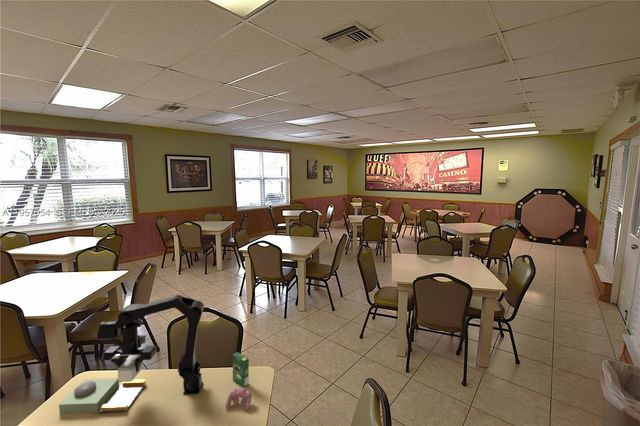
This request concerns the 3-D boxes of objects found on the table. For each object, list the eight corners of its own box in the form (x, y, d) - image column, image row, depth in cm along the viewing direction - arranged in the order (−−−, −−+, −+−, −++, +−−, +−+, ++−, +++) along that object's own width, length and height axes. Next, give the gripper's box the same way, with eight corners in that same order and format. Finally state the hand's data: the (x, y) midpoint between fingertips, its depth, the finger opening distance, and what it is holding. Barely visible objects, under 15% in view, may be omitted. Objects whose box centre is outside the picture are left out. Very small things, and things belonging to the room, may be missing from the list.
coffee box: (249, 384, 131) (249, 357, 129) (244, 388, 128) (244, 360, 126) (237, 377, 135) (236, 351, 133) (232, 380, 133) (231, 354, 131)
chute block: (143, 367, 124) (142, 354, 124) (131, 382, 116) (130, 368, 115) (130, 367, 124) (130, 354, 123) (118, 382, 115) (117, 368, 114)
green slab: (119, 386, 128) (118, 375, 127) (97, 412, 114) (96, 399, 113) (85, 387, 126) (84, 376, 126) (59, 413, 113) (58, 401, 112)
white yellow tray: (145, 384, 129) (145, 379, 129) (125, 412, 114) (125, 406, 114) (122, 385, 128) (121, 380, 128) (99, 413, 113) (98, 407, 113)
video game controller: (251, 408, 119) (253, 388, 122) (248, 411, 115) (250, 391, 117) (228, 406, 120) (231, 386, 122) (224, 409, 116) (227, 389, 118)
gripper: (162, 326, 126) (163, 359, 128) (117, 326, 125) (119, 359, 127) (149, 340, 115) (150, 376, 117) (100, 341, 114) (102, 377, 116)
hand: (131, 371), depth 120 cm, fingers closed on chute block, 5 cm apart
